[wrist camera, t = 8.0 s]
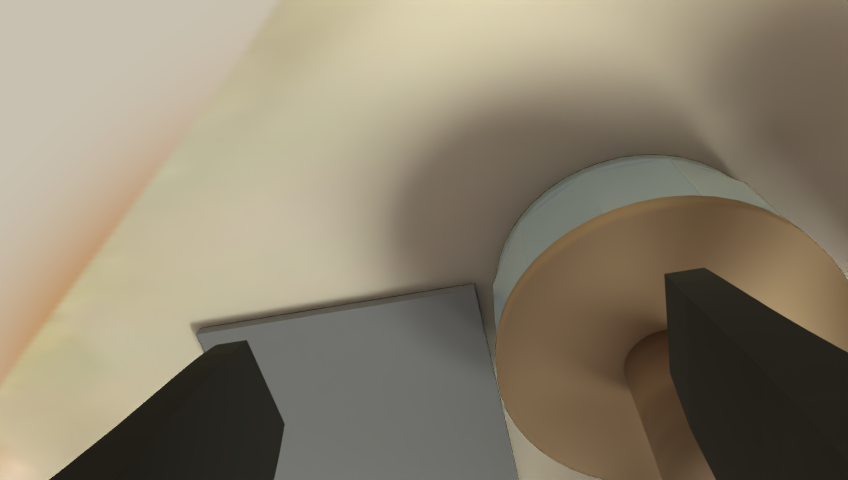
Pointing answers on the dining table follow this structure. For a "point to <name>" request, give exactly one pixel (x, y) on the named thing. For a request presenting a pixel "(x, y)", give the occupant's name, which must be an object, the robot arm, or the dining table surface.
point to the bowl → (605, 205)
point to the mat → (382, 389)
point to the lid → (643, 327)
